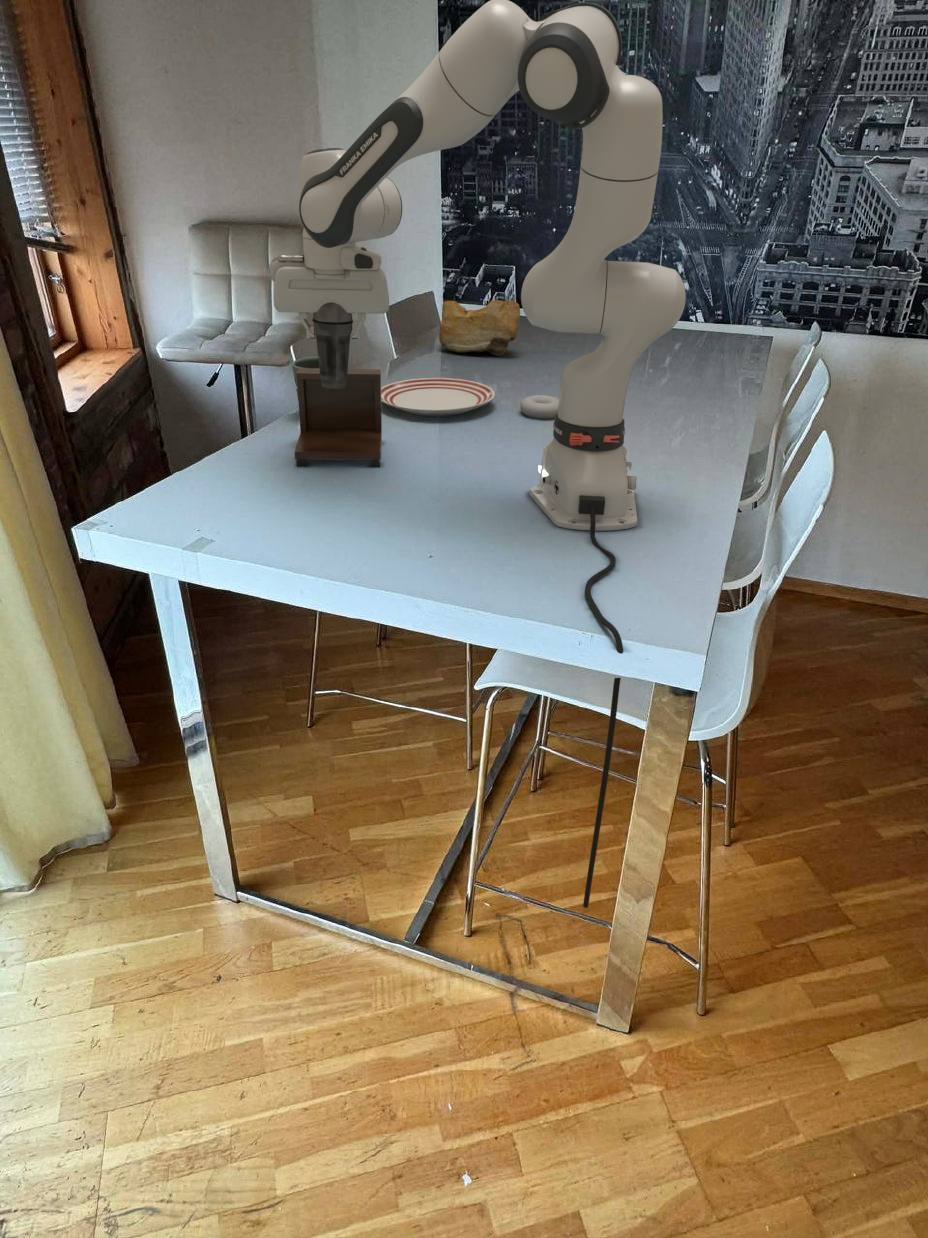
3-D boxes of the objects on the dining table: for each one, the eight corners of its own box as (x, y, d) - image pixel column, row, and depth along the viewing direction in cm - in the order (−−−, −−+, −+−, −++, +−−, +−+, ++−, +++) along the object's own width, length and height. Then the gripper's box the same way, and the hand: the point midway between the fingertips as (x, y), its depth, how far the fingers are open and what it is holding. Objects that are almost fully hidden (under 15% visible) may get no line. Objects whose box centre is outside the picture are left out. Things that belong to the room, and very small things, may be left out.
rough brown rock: (529, 352, 249) (532, 298, 242) (513, 359, 234) (516, 302, 228) (455, 346, 255) (456, 293, 249) (435, 353, 241) (436, 297, 235)
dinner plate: (359, 416, 188) (359, 401, 186) (396, 384, 211) (396, 371, 209) (480, 428, 182) (480, 413, 181) (504, 395, 205) (505, 381, 204)
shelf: (380, 467, 160) (379, 389, 153) (295, 466, 159) (289, 389, 152) (382, 441, 173) (380, 369, 166) (303, 441, 172) (298, 368, 165)
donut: (516, 418, 190) (561, 422, 188) (517, 403, 188) (562, 406, 186) (522, 406, 198) (565, 409, 196) (523, 391, 196) (566, 394, 195)
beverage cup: (307, 387, 154) (303, 269, 145) (323, 379, 160) (321, 266, 151) (343, 392, 152) (343, 273, 143) (359, 384, 159) (359, 269, 149)
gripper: (266, 256, 142) (273, 341, 149) (388, 259, 143) (389, 342, 150) (270, 251, 147) (277, 333, 154) (388, 254, 149) (389, 334, 156)
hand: (334, 338), depth 152 cm, fingers closed on beverage cup, 7 cm apart
